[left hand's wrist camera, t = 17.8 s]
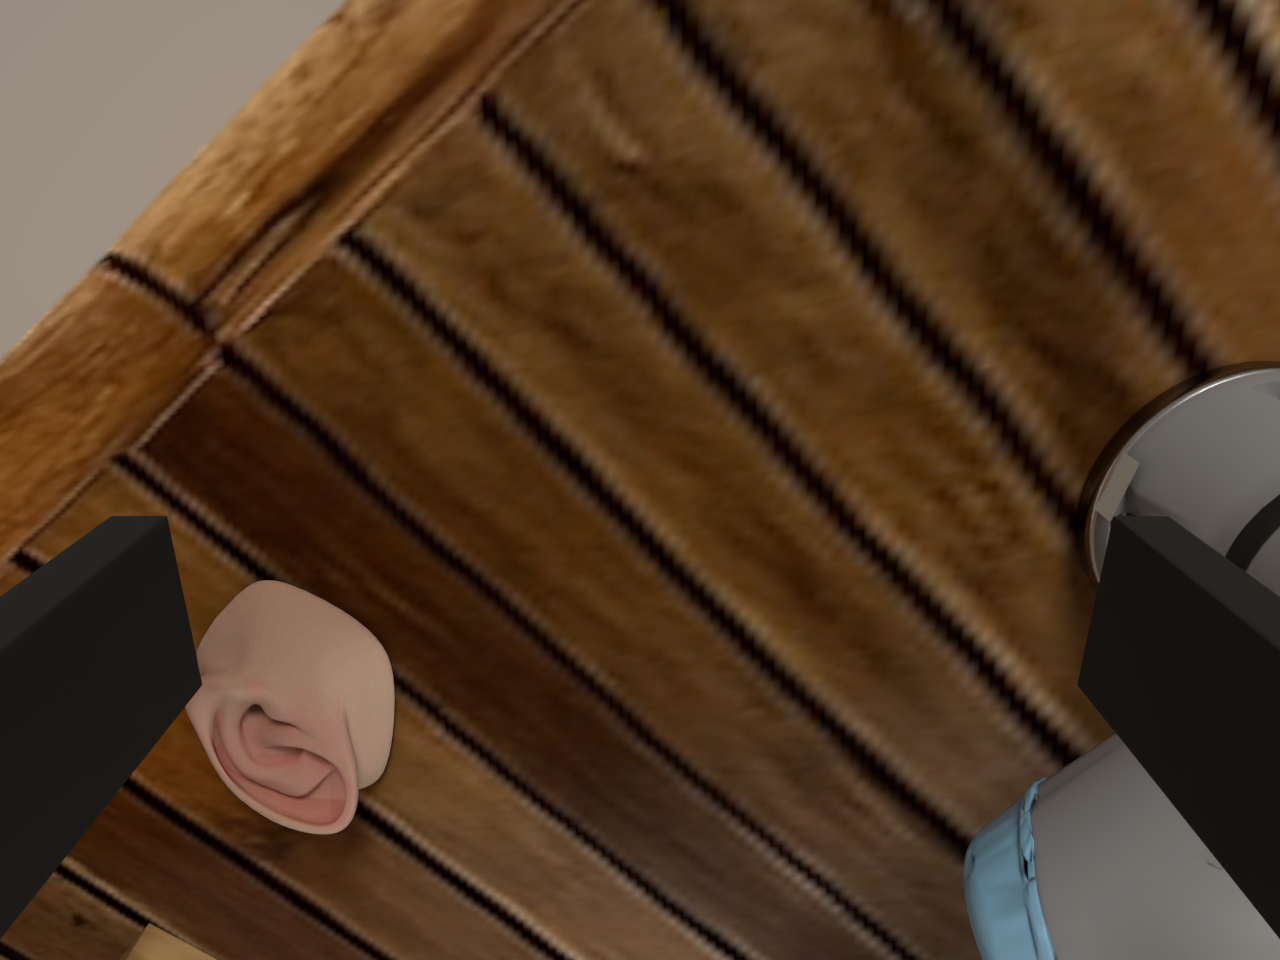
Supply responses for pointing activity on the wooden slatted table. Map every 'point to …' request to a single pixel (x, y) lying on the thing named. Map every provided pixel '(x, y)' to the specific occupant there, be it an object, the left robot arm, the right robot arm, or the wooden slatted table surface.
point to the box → (161, 947)
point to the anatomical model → (294, 706)
